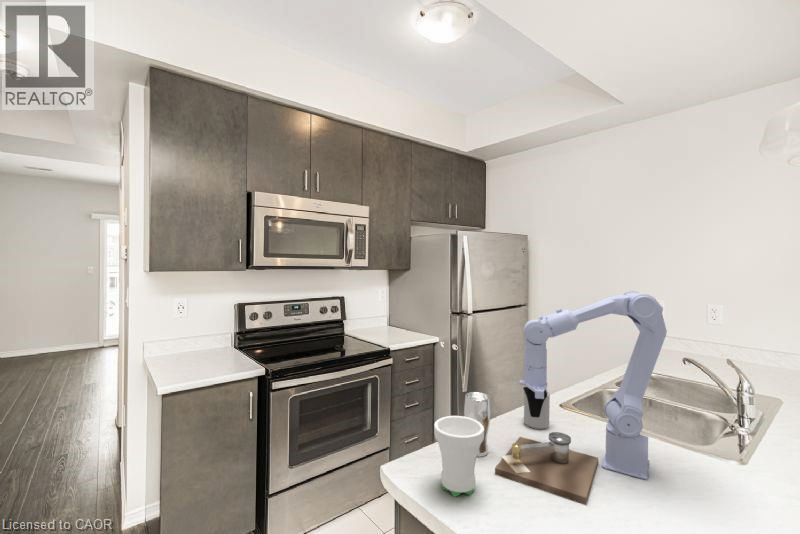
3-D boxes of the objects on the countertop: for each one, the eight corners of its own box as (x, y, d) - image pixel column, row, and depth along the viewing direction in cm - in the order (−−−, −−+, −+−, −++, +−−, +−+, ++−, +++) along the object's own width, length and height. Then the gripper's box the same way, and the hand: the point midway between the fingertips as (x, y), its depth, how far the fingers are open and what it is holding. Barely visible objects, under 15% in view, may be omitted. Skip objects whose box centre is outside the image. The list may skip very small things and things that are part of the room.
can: (545, 432, 114) (545, 393, 114) (520, 426, 119) (520, 388, 118) (552, 424, 120) (552, 386, 120) (528, 418, 125) (529, 382, 124)
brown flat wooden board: (598, 463, 97) (598, 456, 97) (586, 504, 81) (586, 496, 81) (517, 441, 109) (517, 435, 109) (492, 473, 92) (492, 465, 92)
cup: (491, 499, 82) (492, 434, 82) (442, 506, 80) (443, 439, 79) (471, 471, 93) (472, 413, 93) (427, 476, 91) (428, 417, 90)
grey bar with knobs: (561, 452, 99) (562, 431, 99) (575, 463, 94) (575, 440, 94) (507, 459, 95) (507, 436, 95) (518, 470, 90) (518, 446, 90)
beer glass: (471, 442, 108) (472, 389, 108) (494, 450, 103) (495, 395, 103) (459, 451, 102) (459, 396, 102) (482, 460, 98) (483, 402, 98)
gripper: (516, 357, 109) (516, 404, 109) (523, 372, 95) (522, 426, 95) (542, 359, 108) (542, 406, 108) (553, 374, 93) (552, 429, 94)
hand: (534, 416), depth 101 cm, fingers closed
